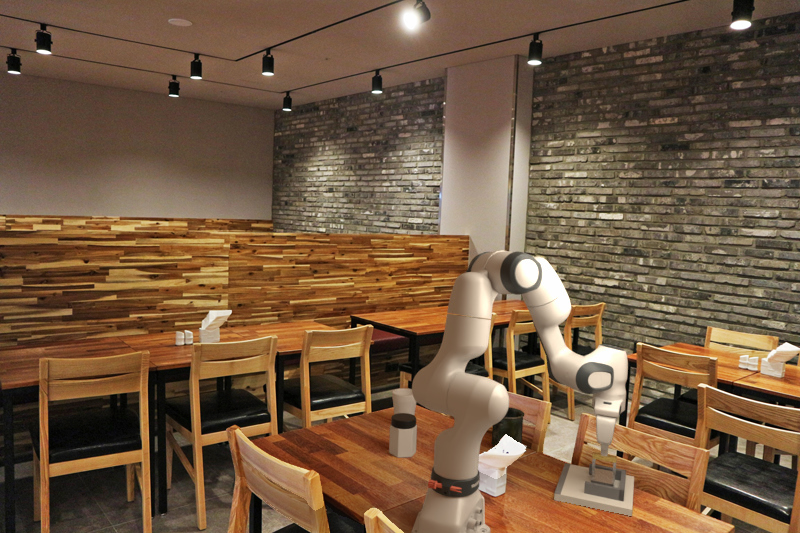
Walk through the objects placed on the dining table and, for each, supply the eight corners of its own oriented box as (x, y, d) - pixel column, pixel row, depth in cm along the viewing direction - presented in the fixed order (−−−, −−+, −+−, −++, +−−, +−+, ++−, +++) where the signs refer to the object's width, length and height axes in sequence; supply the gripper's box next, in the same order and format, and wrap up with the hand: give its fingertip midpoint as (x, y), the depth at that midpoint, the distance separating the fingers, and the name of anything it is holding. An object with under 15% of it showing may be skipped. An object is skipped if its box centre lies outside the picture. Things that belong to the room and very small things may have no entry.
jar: (421, 454, 186) (422, 418, 185) (401, 460, 181) (403, 423, 180) (403, 445, 193) (404, 410, 192) (384, 451, 188) (385, 415, 187)
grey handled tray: (613, 495, 158) (615, 463, 157) (589, 490, 160) (591, 458, 160) (615, 482, 166) (617, 451, 165) (592, 477, 169) (594, 447, 168)
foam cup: (416, 431, 206) (418, 396, 205) (391, 431, 206) (392, 395, 205) (415, 422, 216) (417, 388, 215) (391, 421, 215) (392, 388, 214)
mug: (528, 445, 196) (529, 411, 196) (509, 459, 185) (511, 423, 184) (499, 437, 203) (501, 404, 202) (479, 450, 191) (481, 415, 190)
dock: (631, 517, 150) (633, 498, 150) (554, 500, 158) (555, 482, 158) (633, 483, 170) (634, 466, 170) (564, 469, 178) (565, 453, 178)
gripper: (600, 390, 172) (596, 435, 173) (593, 409, 153) (590, 459, 154) (622, 394, 169) (619, 439, 170) (618, 413, 151) (615, 464, 152)
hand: (605, 449), depth 162 cm, fingers open, 8 cm apart
